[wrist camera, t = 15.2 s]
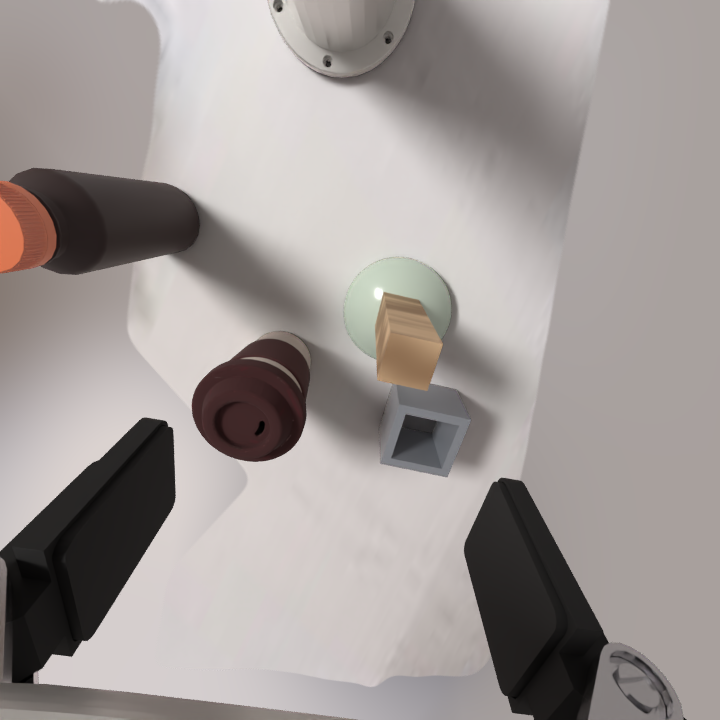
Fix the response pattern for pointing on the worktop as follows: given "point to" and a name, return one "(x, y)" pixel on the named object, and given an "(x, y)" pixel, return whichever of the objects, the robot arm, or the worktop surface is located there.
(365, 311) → the mint green dome
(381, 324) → the oak peg
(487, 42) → the worktop surface
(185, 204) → the bottle
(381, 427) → the gray open square box
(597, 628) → the robot arm
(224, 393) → the coffee cup
